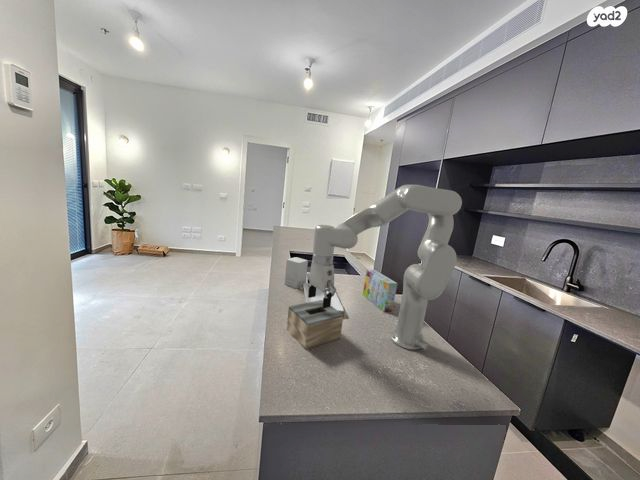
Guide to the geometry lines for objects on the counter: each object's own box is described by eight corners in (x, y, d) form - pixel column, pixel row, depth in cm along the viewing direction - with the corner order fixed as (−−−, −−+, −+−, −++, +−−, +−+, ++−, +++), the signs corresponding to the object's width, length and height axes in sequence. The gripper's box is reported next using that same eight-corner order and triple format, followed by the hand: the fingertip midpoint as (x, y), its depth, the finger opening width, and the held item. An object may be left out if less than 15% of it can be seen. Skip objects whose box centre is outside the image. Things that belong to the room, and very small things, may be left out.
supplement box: (306, 285, 153) (308, 260, 150) (296, 289, 146) (299, 263, 143) (293, 280, 158) (296, 256, 155) (283, 284, 150) (286, 259, 148)
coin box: (340, 338, 103) (343, 314, 101) (305, 349, 94) (308, 323, 92) (319, 321, 114) (322, 299, 112) (286, 329, 105) (288, 306, 103)
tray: (331, 290, 151) (332, 284, 151) (343, 317, 121) (344, 310, 120) (302, 288, 149) (302, 282, 148) (306, 316, 118) (307, 308, 118)
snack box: (393, 311, 132) (398, 283, 129) (383, 312, 130) (388, 283, 127) (370, 294, 151) (374, 268, 148) (361, 294, 149) (365, 269, 146)
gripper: (345, 264, 93) (340, 309, 97) (317, 252, 107) (314, 292, 110) (328, 266, 89) (324, 313, 92) (301, 253, 102) (298, 295, 106)
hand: (318, 301), depth 101 cm, fingers open, 9 cm apart
